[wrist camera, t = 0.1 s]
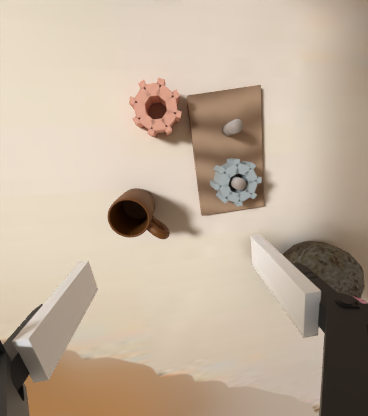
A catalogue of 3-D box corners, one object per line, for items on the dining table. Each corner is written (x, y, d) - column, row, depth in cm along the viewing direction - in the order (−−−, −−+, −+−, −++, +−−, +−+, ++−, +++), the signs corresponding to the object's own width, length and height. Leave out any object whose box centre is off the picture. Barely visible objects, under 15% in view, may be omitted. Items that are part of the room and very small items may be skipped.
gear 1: (131, 91, 36) (124, 82, 32) (176, 85, 36) (176, 75, 32) (140, 139, 39) (136, 137, 34) (182, 133, 39) (184, 130, 34)
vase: (280, 224, 46) (460, 347, 17) (342, 241, 48) (595, 373, 19) (254, 283, 50) (365, 459, 21) (313, 295, 52) (484, 470, 24)
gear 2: (203, 172, 40) (207, 175, 35) (239, 150, 39) (249, 150, 35) (222, 206, 42) (228, 213, 38) (257, 186, 42) (268, 191, 37)
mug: (178, 209, 43) (180, 224, 34) (160, 235, 45) (157, 256, 36) (131, 180, 41) (119, 188, 32) (114, 209, 43) (98, 225, 33)
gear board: (186, 97, 37) (190, 84, 30) (257, 87, 37) (277, 72, 30) (201, 214, 44) (206, 225, 37) (261, 204, 44) (277, 214, 37)
